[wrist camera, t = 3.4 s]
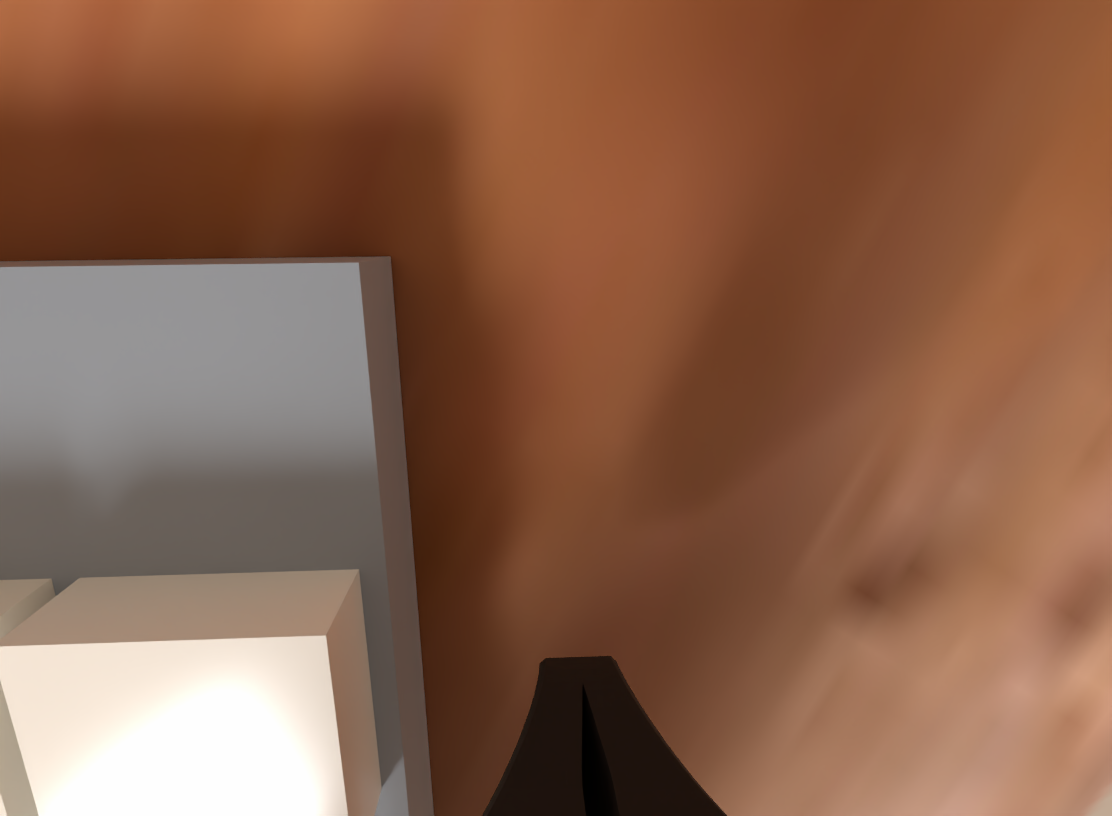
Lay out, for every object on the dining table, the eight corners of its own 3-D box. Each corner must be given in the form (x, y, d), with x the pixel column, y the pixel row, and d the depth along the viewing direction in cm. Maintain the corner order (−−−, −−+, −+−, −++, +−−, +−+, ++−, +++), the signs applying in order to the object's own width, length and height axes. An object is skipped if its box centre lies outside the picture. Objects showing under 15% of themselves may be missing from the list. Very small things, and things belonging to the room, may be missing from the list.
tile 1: (381, 788, 13) (356, 884, 11) (131, 798, 13) (62, 897, 11) (359, 569, 12) (325, 635, 10) (79, 577, 12) (-10, 647, 10)
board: (438, 875, 17) (423, 981, 15) (-149, 903, 16) (-265, 1018, 14) (390, 256, 13) (358, 262, 10) (-405, 266, 12) (-635, 274, 10)
